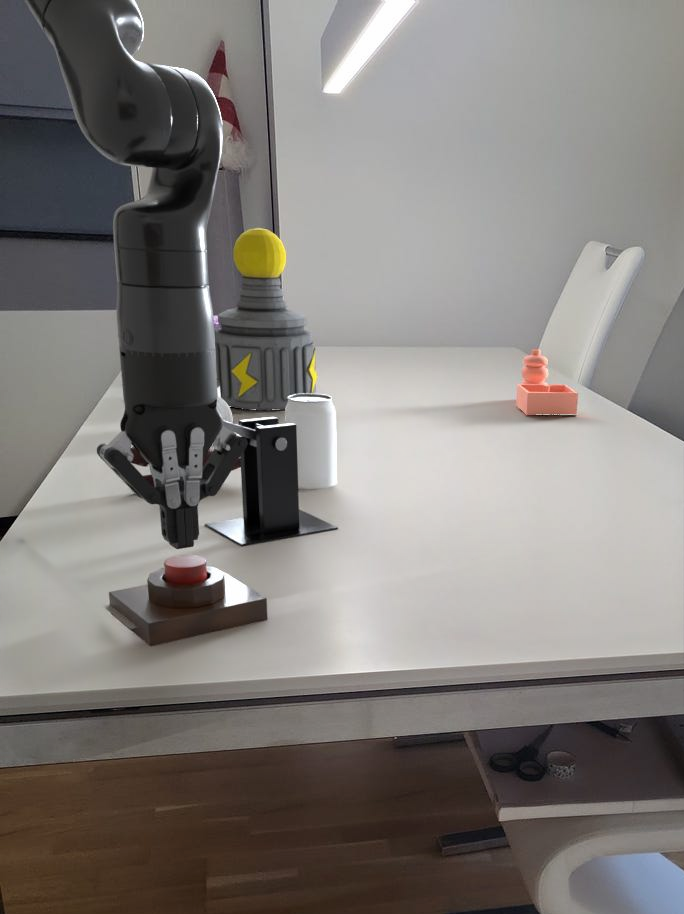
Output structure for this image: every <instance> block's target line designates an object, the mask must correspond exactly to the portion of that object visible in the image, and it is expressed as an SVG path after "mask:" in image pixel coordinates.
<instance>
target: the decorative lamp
mask: <svg viewBox="0 0 684 914" xmlns="http://www.w3.org/2000/svg"><path fill="white" fill-rule="evenodd" d="M232 251H233V261H234V264H235V266H236V269H237V271H239V273H240V274H241V275H242V277H241V281H240V283H241V285H242V286H241V287H240V288H239V291H238V295H239V296H240V297H239V299H237V301H236V305H235V306H236V308H228V309H226V310H224V311H222V312H221V313H218V314H217V316H218V323H219V324H221V328H220V329H217V330H215V332H216V339H215V352H216V373H217V378H218V380H219V384H220V393H221V398H222V399H223V400H224V401H225V402H226V403H227V404H228V406H231V407H235V408H243V409H256V410H272V409H285V408H286V405H287V403H288V396H290V395H294V394H317V380H318V376H319V375H318V373H317V370H316V369H317V367H316V366H317V365H316V351H317V350H316V349H317V348H316V344H315V342H314V341H313V333H311V332H310V331H309V330H306V329H305V326H307V324H308V321H307V316H305V314H302V313H300V312H299V311H297V310H293V309H289V308H288V304H287V301H286V300H284V298H283V297H285V294H284V293H285V292H284V290H283V289H282V288H281V285H282V283H281V279H280V278H279V277H280V276H281V274H282V273H283V271H284V270H285V267H286V264H287V251H286V248H285V246H284V244H283V242H282V240H281V239H280V238H279V237H278V235H277V234H275V233H274V232H272V231H271V230H269V229H265V228H261V227H255V228H249V229H248V230H246V231H244V232H243V233H241V234H240V235H239V237H238V238H237V239H236V241H235V243H234V247H233V250H232ZM287 308H288V309H287ZM235 408H234V409H235ZM243 409H242V410H243ZM256 410H255V411H256Z"/></svg>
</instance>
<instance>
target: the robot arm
mask: <svg viewBox="0 0 684 914" xmlns="http://www.w3.org/2000/svg"><path fill="white" fill-rule="evenodd" d="M23 1H24V2H25V4H26V5H27V7H28V9H29V11H30V12H31V14H32V16H33V17H34V18H35V20H36V22H37V23H38V25H39V26H40V28H41V29H42V31H43V33H44V35H45V36H46V37H47V39H48V41H49V42H50V43H51V45H52V46H53V48H54V51H55V54H56V57H57V62H58V64H59V68H60V71H61V74H62V78H63V81H64V84H65V87H66V90H67V92H68V97H69V100H70V104H71V107H72V110H73V113H74V117H75V119H76V122H77V125H78V126H79V128H80V131H81V133H82V134H83V135H84V137H85V138H86V140H87V141H88V142H89V143H90V144H91V146H93V148H94V149H95V150H96V151H98V152H99V153H100V154H101V155H102V156H103V157H105V158H106V159H107V160H109V161H111V162H113V163H114V164H118V165H121V166H127V167H138V168H151V174H150V180H149V182H148V187H147V191H146V193H145V195H144V197H142V198H141V199H138V200H135V201H129V202H127V203H125V204H122V205H121V206H119V207H118V208H117V209H116V210H115V212H114V214H113V221H112V235H113V236H112V237H113V246H114V247H113V248H114V262H115V272H116V282H117V284H116V285H117V286H116V287H117V289H116V291H117V293H116V295H117V296H116V325H117V337H118V348H119V349H118V350H119V362H120V372H121V385H122V396H123V403H124V412H123V415H122V418H121V419H120V423H119V426H120V427H119V428H120V432H119V433H118V434H117V435H116V436H115V437H113V438H112V440H110V441H109V442H108V443H100V444H99V445H98V446H97V447H96V454H97V456H98V457H99V458H100V459H101V460H102V461H103V462H104V463H105V464H106V465H107V467H108V468H110V469H111V470H112V471H113V472H114V473H115V475H116V476H117V477H118V478H120V479H121V481H122V482H123V483H124V484H125V485H126V486H127V487H128V488H129V489H130V490H131V492H132V493H134V494H135V495H136V496H137V497H138V498H139V499H142V500H144V501H145V502H147V503H148V504H150V505H158V506H159V517H160V530H161V535H162V538H163V539H164V541H166V542H167V543H168V544H169V545H170V546H171V547H172V548H174V549H175V550H182V549H187V548H193V547H194V546H195V541H197V540H198V539H199V536H200V525H199V524H200V523H199V503H200V502H201V501H202V500H203V499H206V498H208V497H215V496H216V495H217V494H218V493H219V491H220V489H221V488H222V487H223V485H224V483H225V482H226V480H227V479H228V477H229V475H230V474H231V472H233V471H232V469H233V467H234V466H235V464H236V463H237V461H238V460H239V458H240V456H241V455H242V453H243V452H244V450H245V449H246V447H247V444H248V442H247V439H246V438H245V437H243V436H240V435H238V434H236V433H233V432H232V431H231V430H229V429H228V428H227V427H225V426H224V425H223V418H222V415H221V414H220V412H219V410H218V407H217V396H218V393H217V373H216V352H215V339H216V332H215V329H214V316H215V315H214V309H213V303H212V297H211V292H210V286H209V284H210V282H209V265H208V264H209V263H208V260H209V259H208V242H207V231H208V230H207V229H208V224H209V220H210V216H211V211H212V206H213V201H214V196H215V191H216V185H217V182H218V181H217V180H218V175H219V169H220V166H221V160H222V159H221V158H222V153H223V146H224V145H223V144H224V129H223V120H222V119H223V118H222V114H221V111H220V107H219V104H218V102H217V99H216V97H215V94H214V93H213V90H212V89H211V88H210V86H209V85H208V83H207V82H206V81H205V80H204V79H203V78H202V77H201V76H199V74H197V73H195V72H193V71H191V70H188V69H185V68H179V67H175V66H174V67H173V66H168V65H164V64H163V65H161V64H156V63H150V62H143V61H139V60H136V59H134V56H136V54H137V52H138V51H139V49H140V48H141V45H142V42H143V40H144V32H145V31H144V29H145V27H144V21H143V17H142V14H141V12H140V9H139V7H138V5H137V3H136V1H135V0H23ZM131 446H132V447H134V448H135V449H136V450H137V451H138V452H139V453H140V455H141V456H142V457H143V458H144V459H145V460H146V461H147V462H148V463H149V465H148V466H149V472H150V475H152V477H153V480H154V486H155V487H153V486H152V485H151V484H150V483H149V482H148V481H147V480H146V479H145V478H144V474H142V473H141V472H140V471H139V470H138V469H137V467H136V466H134V464H133V463H131V462H132V461H133V458H134V455H133V452H132V451H131V448H132V447H131ZM212 446H213V450H212V451H213V452H212V453H211V455H210V457H209V458H208V460H207V461H206V463H205V464H204V466H203V459H204V458H205V456H206V454H207V453H208V451H210V449H211V447H212Z"/></svg>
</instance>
